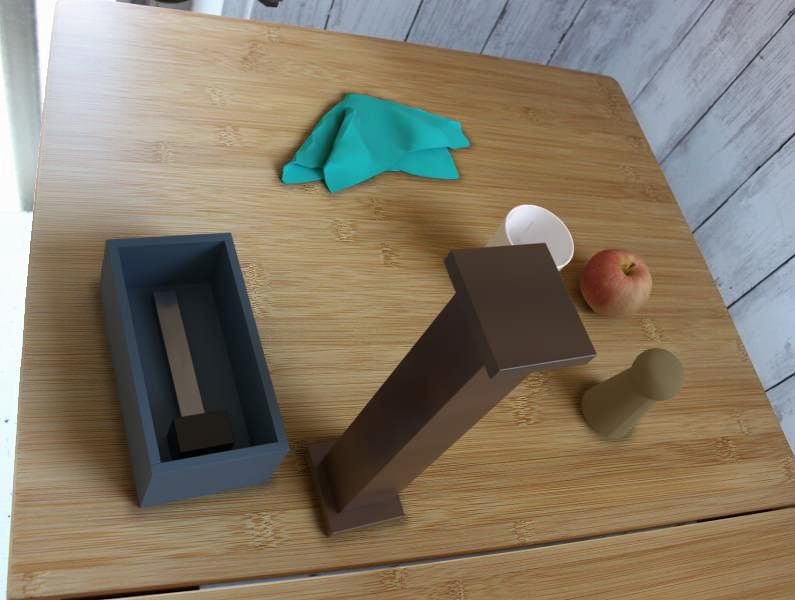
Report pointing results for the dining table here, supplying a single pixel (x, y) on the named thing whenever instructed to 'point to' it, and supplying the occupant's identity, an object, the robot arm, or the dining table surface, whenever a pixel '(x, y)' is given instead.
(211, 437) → the grey mallet
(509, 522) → the dining table surface
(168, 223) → the dining table surface
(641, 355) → the olive game pawn
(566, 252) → the white cup
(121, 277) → the bin
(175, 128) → the dining table surface
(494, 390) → the stand
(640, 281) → the apple
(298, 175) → the cloth
